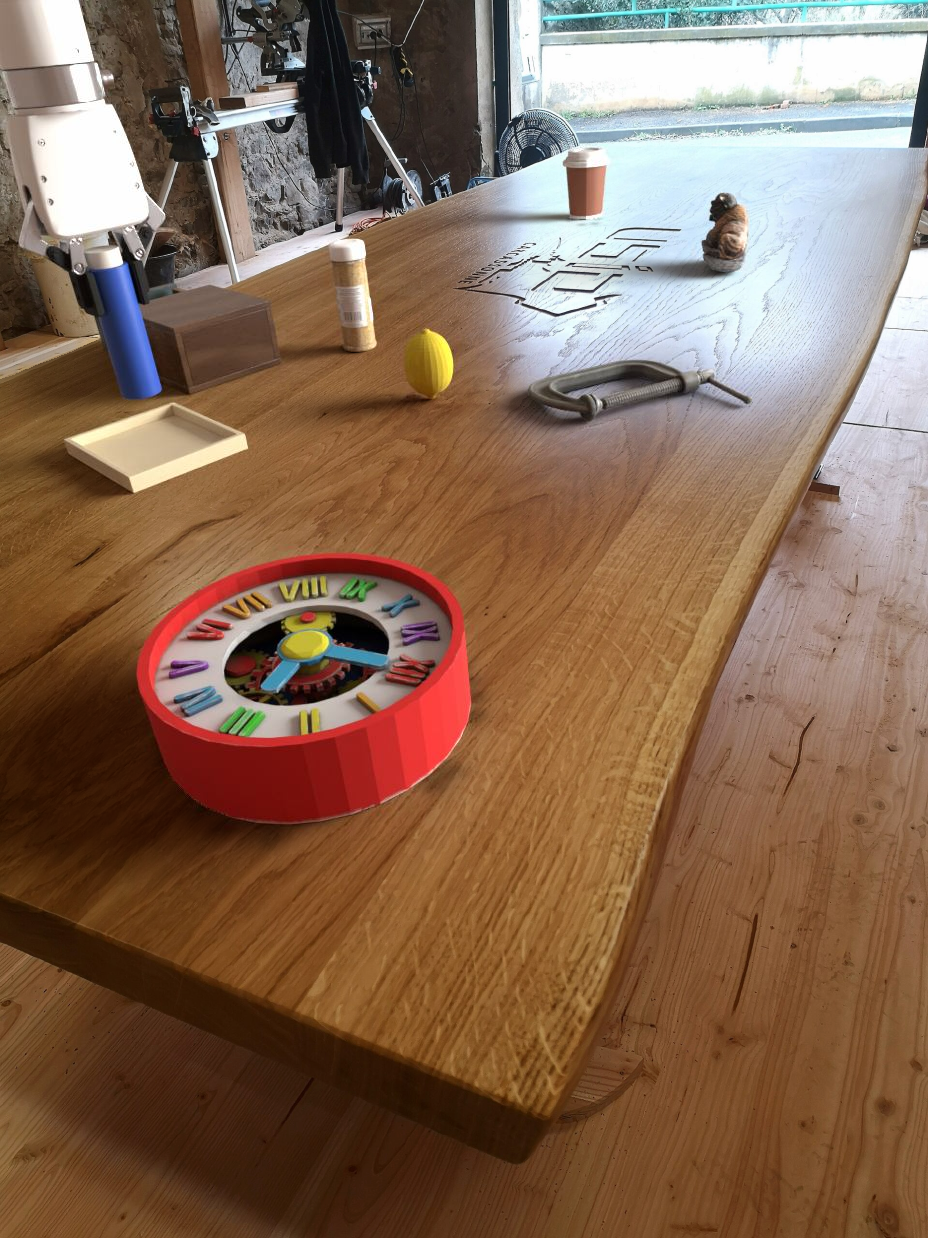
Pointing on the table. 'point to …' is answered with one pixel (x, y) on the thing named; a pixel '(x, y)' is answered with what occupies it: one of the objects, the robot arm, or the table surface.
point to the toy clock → (307, 686)
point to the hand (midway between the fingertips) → (117, 306)
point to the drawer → (152, 294)
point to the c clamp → (589, 405)
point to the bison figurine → (726, 235)
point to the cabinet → (209, 337)
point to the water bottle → (123, 324)
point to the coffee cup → (586, 181)
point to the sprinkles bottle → (352, 294)
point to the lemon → (428, 363)
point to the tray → (155, 446)
